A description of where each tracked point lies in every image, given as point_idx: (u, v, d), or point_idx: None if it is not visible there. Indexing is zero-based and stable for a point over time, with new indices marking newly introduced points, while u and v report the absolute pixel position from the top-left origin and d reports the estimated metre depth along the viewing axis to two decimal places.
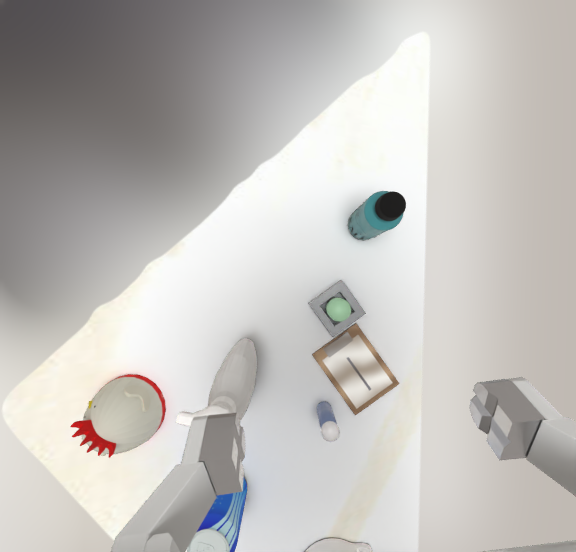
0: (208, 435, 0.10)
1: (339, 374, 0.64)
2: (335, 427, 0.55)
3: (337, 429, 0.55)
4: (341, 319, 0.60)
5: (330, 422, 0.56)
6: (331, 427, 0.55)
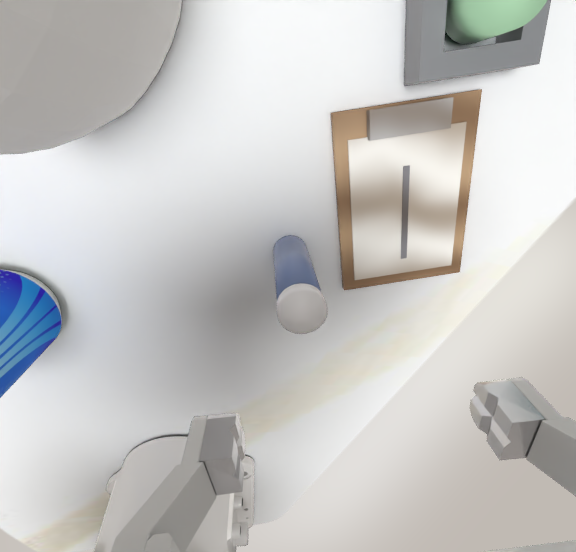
0: (208, 435, 0.10)
1: (365, 195, 0.26)
2: (321, 307, 0.19)
3: (323, 313, 0.20)
4: (497, 22, 0.18)
5: (314, 289, 0.19)
6: (312, 304, 0.19)
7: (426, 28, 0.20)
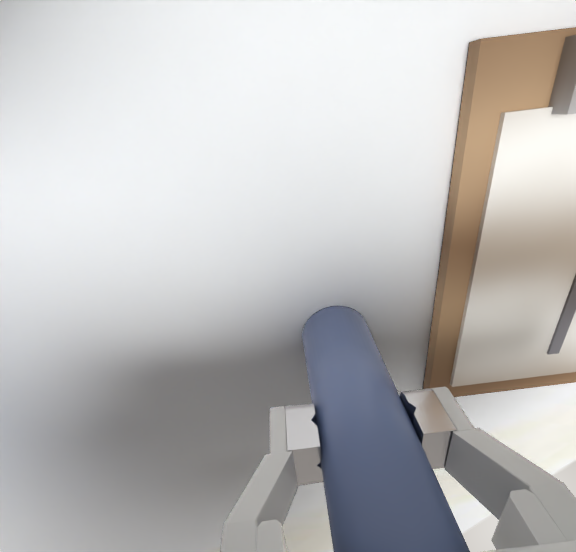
0: (290, 425, 0.10)
1: (511, 238, 0.12)
2: None
3: None
4: None
5: None
6: None
7: None
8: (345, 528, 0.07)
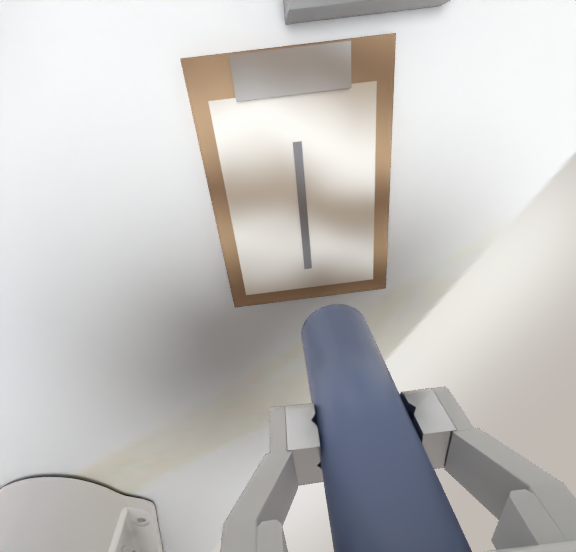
0: (290, 425, 0.10)
1: (244, 182, 0.19)
2: None
3: None
4: None
5: None
6: None
7: None
8: (346, 527, 0.07)
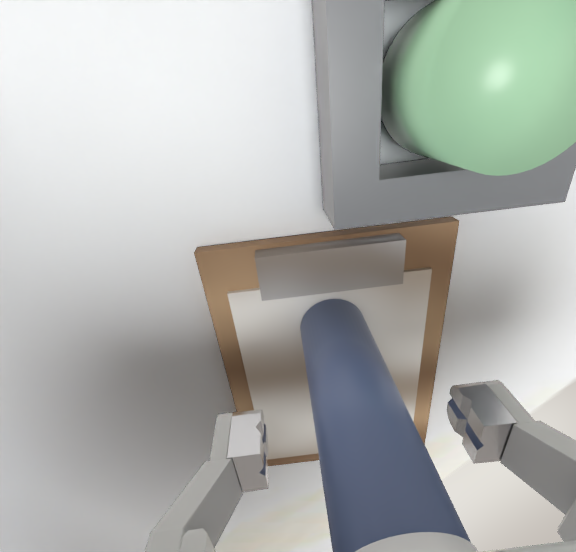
0: (234, 432, 0.10)
1: (268, 364, 0.16)
2: None
3: None
4: (481, 157, 0.08)
5: None
6: None
7: (341, 138, 0.10)
8: (339, 499, 0.07)
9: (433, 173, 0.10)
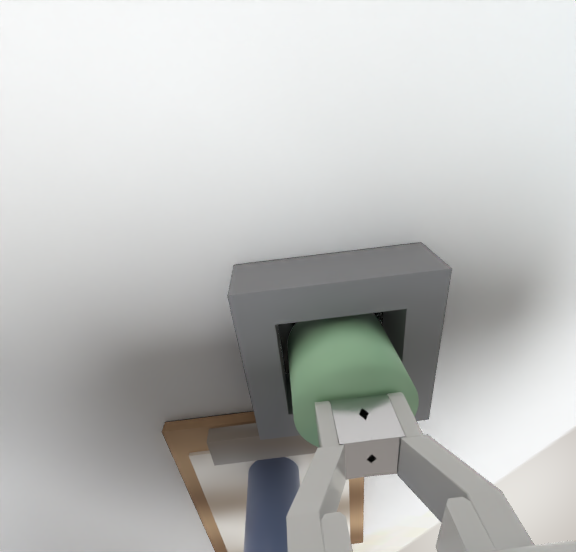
0: (339, 419, 0.10)
1: (225, 496, 0.20)
2: None
3: None
4: None
5: None
6: None
7: (258, 396, 0.14)
8: None
9: None
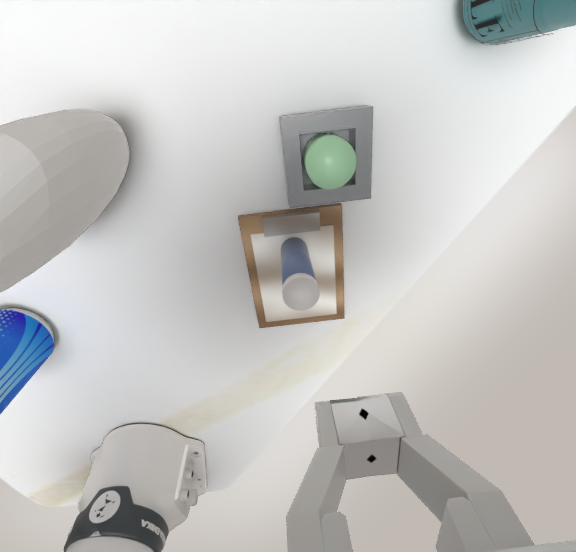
0: (339, 419, 0.10)
1: (267, 268, 0.36)
2: (315, 290, 0.26)
3: (316, 295, 0.26)
4: (323, 184, 0.29)
5: (310, 277, 0.26)
6: (308, 288, 0.26)
7: (290, 178, 0.30)
8: (284, 276, 0.28)
9: (322, 188, 0.30)
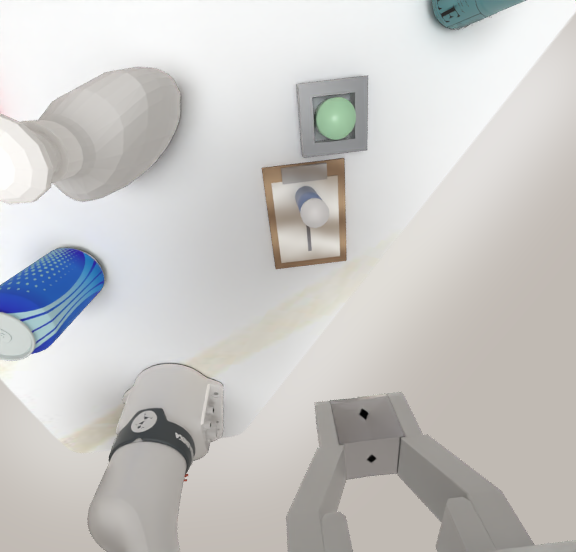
0: (339, 419, 0.10)
1: (283, 213, 0.45)
2: (326, 210, 0.35)
3: (327, 214, 0.35)
4: (331, 135, 0.37)
5: (322, 200, 0.35)
6: (321, 208, 0.34)
7: (304, 132, 0.39)
8: (302, 203, 0.36)
9: (329, 141, 0.39)
